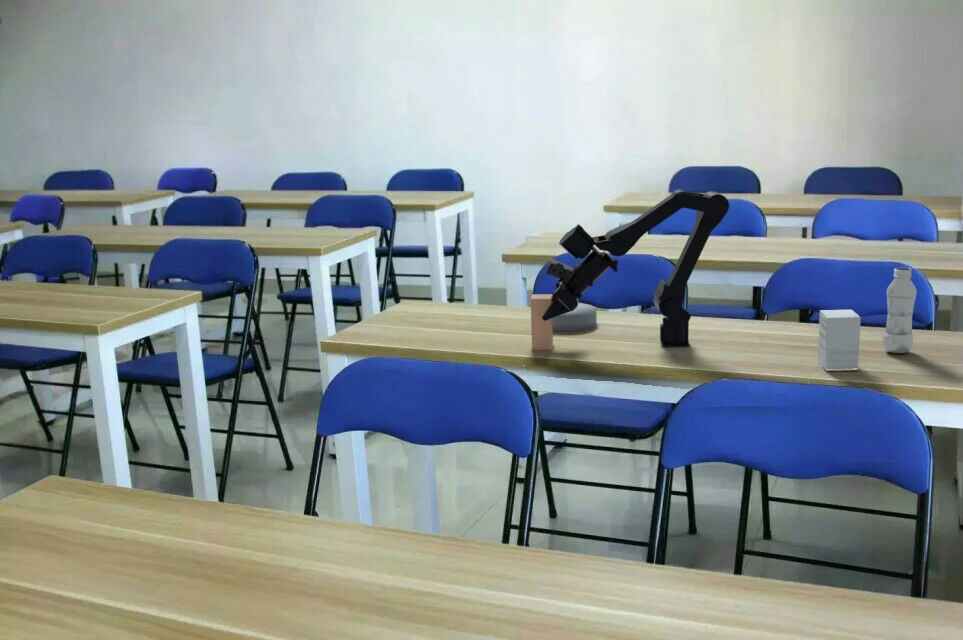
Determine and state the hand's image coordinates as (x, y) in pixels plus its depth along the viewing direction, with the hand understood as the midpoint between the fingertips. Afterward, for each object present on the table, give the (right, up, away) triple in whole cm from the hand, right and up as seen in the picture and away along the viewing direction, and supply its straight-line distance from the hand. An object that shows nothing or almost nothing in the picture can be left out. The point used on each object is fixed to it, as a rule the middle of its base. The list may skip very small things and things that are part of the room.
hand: (544, 314), depth 250 cm
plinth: (+8, -2, +24) cm, 25 cm away
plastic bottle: (+82, -9, -14) cm, 84 cm away
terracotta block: (0, -8, +2) cm, 8 cm away
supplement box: (+65, -12, -24) cm, 70 cm away
